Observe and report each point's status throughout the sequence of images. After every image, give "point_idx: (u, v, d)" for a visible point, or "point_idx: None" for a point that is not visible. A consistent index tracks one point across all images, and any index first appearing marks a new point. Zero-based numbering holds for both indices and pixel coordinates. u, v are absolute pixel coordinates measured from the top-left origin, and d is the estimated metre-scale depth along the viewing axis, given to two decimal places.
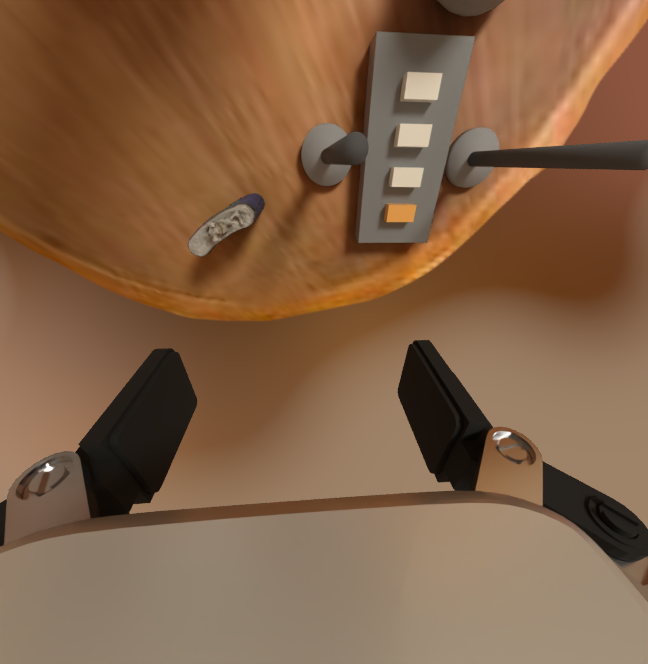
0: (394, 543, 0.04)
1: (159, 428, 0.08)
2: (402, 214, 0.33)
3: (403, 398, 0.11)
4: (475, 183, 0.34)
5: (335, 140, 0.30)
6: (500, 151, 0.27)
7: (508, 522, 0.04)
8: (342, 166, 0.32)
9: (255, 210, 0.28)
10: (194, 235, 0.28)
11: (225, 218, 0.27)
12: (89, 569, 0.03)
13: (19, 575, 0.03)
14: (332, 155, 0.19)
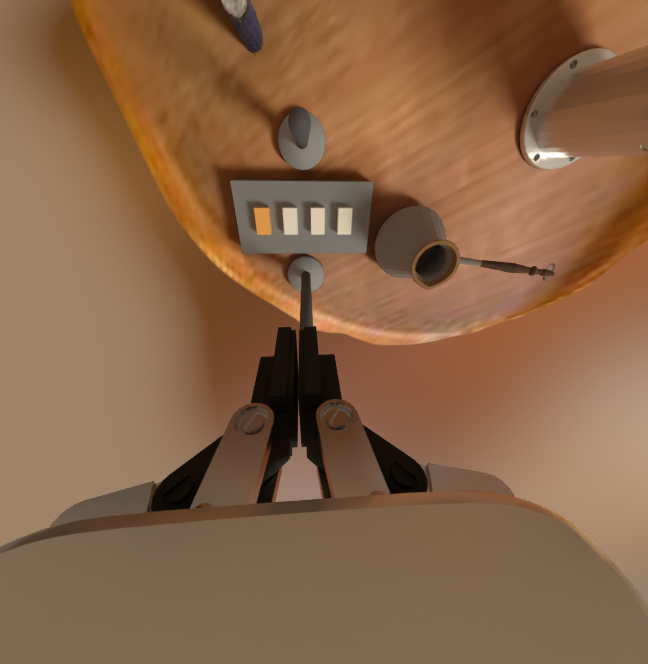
0: (395, 544, 0.04)
1: None
2: (262, 222, 0.36)
3: None
4: (291, 282, 0.45)
5: (313, 150, 0.35)
6: (309, 285, 0.40)
7: (508, 522, 0.04)
8: (295, 159, 0.35)
9: (242, 22, 0.23)
10: None
11: None
12: (89, 569, 0.03)
13: (19, 575, 0.03)
14: None
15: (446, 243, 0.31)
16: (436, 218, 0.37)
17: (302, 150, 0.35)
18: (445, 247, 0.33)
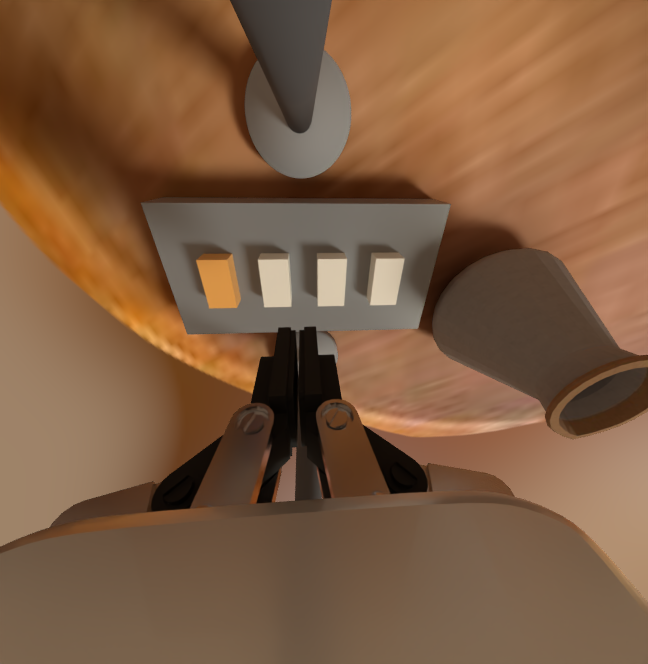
0: (394, 544, 0.04)
1: None
2: (217, 287, 0.18)
3: None
4: None
5: (324, 137, 0.16)
6: None
7: (508, 522, 0.04)
8: (284, 156, 0.16)
9: None
10: None
11: None
12: (89, 569, 0.03)
13: (20, 575, 0.03)
14: None
15: None
16: (570, 275, 0.18)
17: (300, 136, 0.16)
18: None
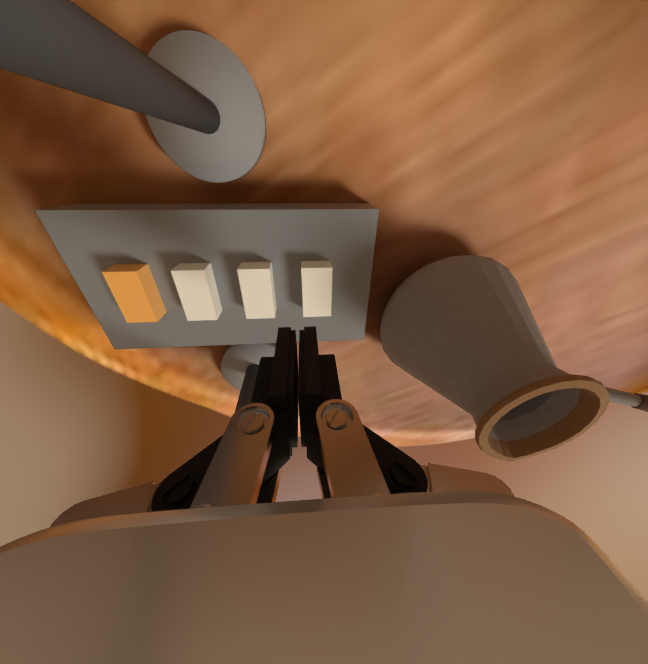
0: (394, 544, 0.04)
1: None
2: (131, 300, 0.16)
3: None
4: (229, 380, 0.25)
5: (237, 138, 0.15)
6: None
7: (508, 522, 0.04)
8: (196, 158, 0.15)
9: None
10: None
11: None
12: (89, 569, 0.03)
13: (19, 575, 0.03)
14: None
15: (584, 386, 0.11)
16: (513, 283, 0.17)
17: (210, 137, 0.15)
18: None
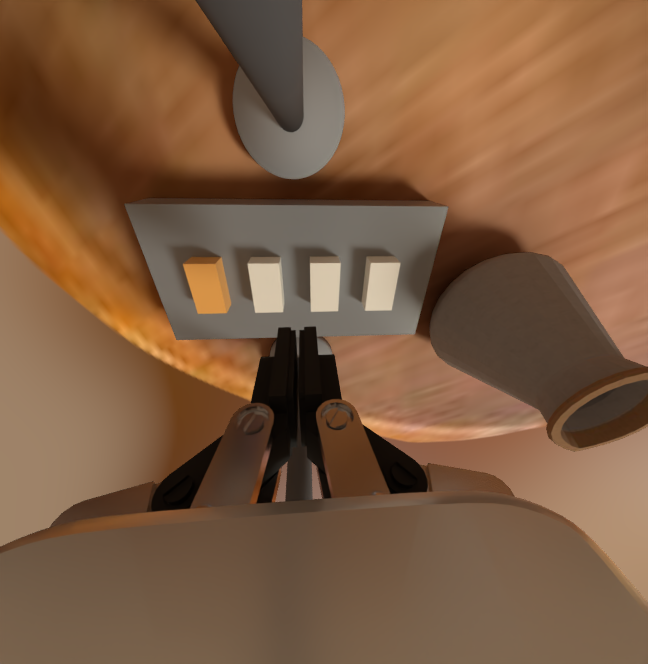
0: (394, 544, 0.04)
1: None
2: (205, 292, 0.17)
3: None
4: None
5: (317, 136, 0.15)
6: None
7: (508, 522, 0.04)
8: (275, 155, 0.16)
9: None
10: None
11: None
12: (89, 569, 0.03)
13: (19, 575, 0.03)
14: None
15: None
16: (572, 280, 0.18)
17: (291, 135, 0.15)
18: None
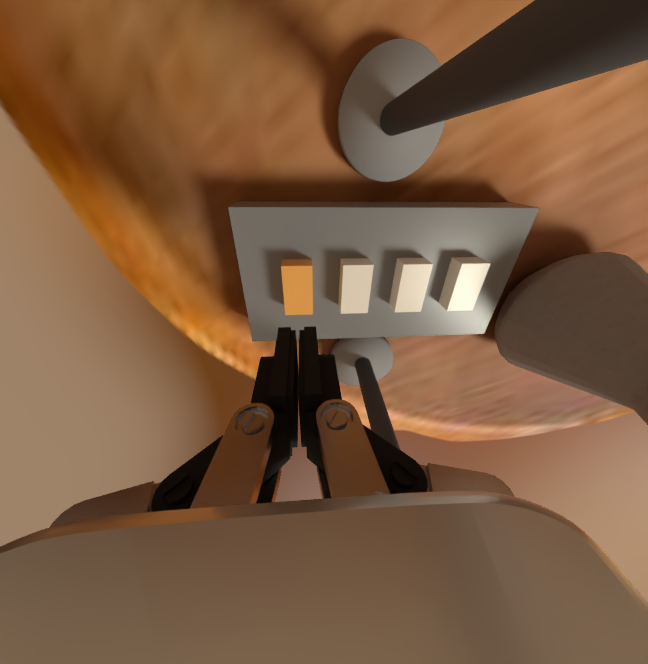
0: (395, 544, 0.04)
1: None
2: (296, 294, 0.17)
3: None
4: None
5: (416, 139, 0.15)
6: (384, 404, 0.20)
7: (508, 522, 0.04)
8: (372, 159, 0.16)
9: None
10: None
11: None
12: (89, 569, 0.03)
13: (20, 575, 0.03)
14: None
15: None
16: None
17: (391, 138, 0.15)
18: None
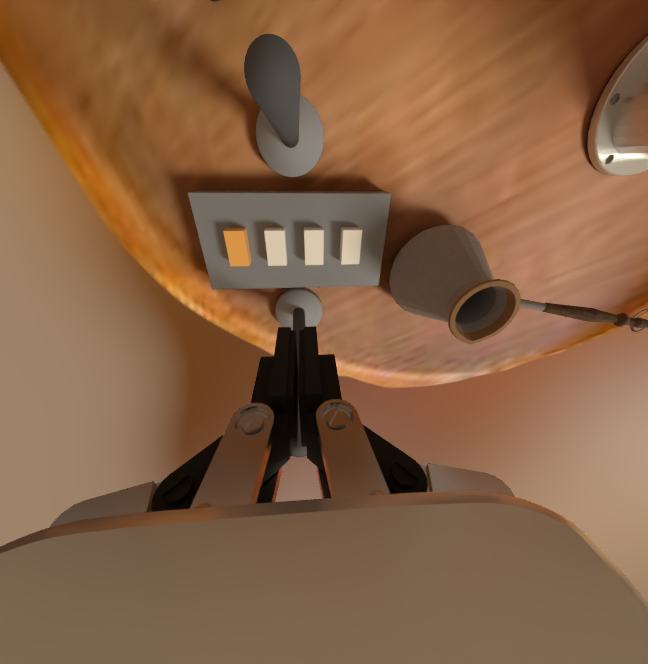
0: (394, 544, 0.04)
1: None
2: (236, 250, 0.26)
3: None
4: (279, 321, 0.35)
5: (307, 150, 0.25)
6: None
7: (508, 522, 0.04)
8: (281, 162, 0.25)
9: None
10: None
11: None
12: (89, 569, 0.03)
13: (19, 575, 0.03)
14: None
15: (503, 285, 0.21)
16: (475, 242, 0.27)
17: (291, 149, 0.24)
18: (497, 287, 0.23)
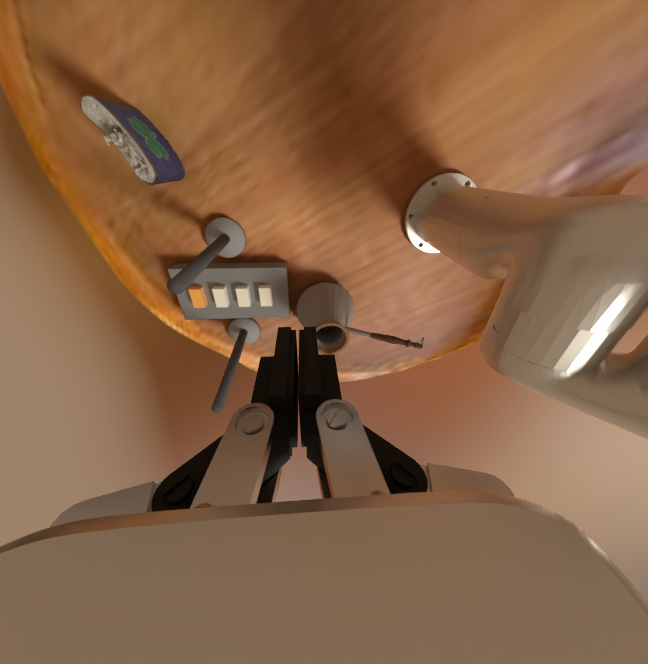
0: (395, 543, 0.04)
1: None
2: (196, 299, 0.45)
3: None
4: (231, 337, 0.53)
5: (235, 244, 0.43)
6: (240, 346, 0.48)
7: (508, 522, 0.04)
8: (221, 250, 0.43)
9: (155, 183, 0.32)
10: (104, 109, 0.27)
11: (135, 151, 0.29)
12: (89, 569, 0.03)
13: (21, 574, 0.03)
14: (190, 262, 0.30)
15: (334, 325, 0.40)
16: (340, 294, 0.46)
17: (226, 244, 0.43)
18: None
